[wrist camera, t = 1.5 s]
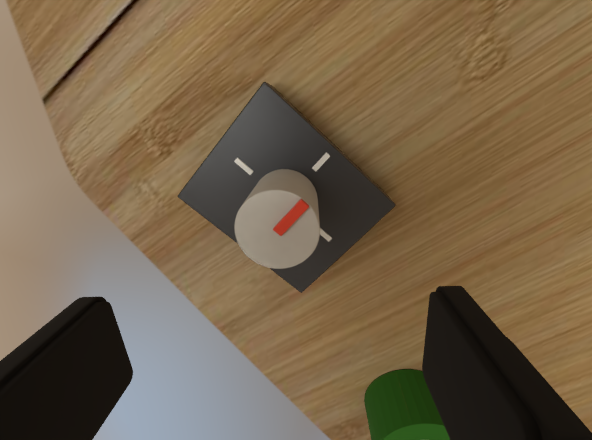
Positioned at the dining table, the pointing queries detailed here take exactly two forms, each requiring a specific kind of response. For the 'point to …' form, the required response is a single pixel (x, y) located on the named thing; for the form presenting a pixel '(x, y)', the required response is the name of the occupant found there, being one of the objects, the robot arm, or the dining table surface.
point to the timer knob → (279, 220)
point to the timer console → (294, 156)
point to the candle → (403, 408)
